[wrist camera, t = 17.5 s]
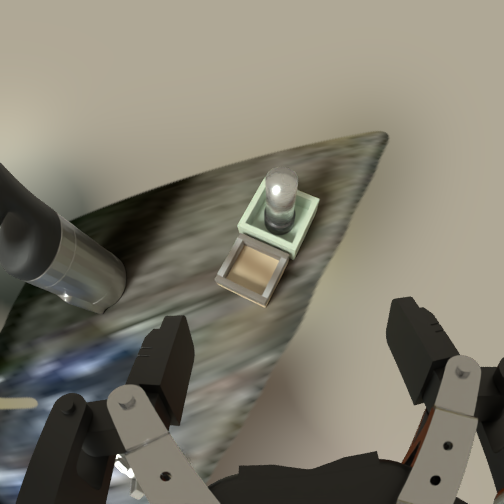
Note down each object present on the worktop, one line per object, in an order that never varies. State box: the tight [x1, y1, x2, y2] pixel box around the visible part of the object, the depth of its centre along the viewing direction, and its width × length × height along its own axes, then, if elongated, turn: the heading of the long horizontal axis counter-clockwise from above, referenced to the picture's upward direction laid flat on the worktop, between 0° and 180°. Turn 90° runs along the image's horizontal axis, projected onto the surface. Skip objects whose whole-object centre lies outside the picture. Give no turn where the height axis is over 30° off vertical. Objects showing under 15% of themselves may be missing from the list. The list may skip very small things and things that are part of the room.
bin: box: [237, 177, 319, 260], centre depth 44 cm, size 9×9×4 cm
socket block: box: [214, 233, 289, 308], centre depth 43 cm, size 7×7×3 cm
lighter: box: [115, 454, 144, 500], centre depth 32 cm, size 7×2×8 cm, turn 51°
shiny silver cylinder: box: [264, 167, 298, 235], centre depth 40 cm, size 4×4×11 cm
